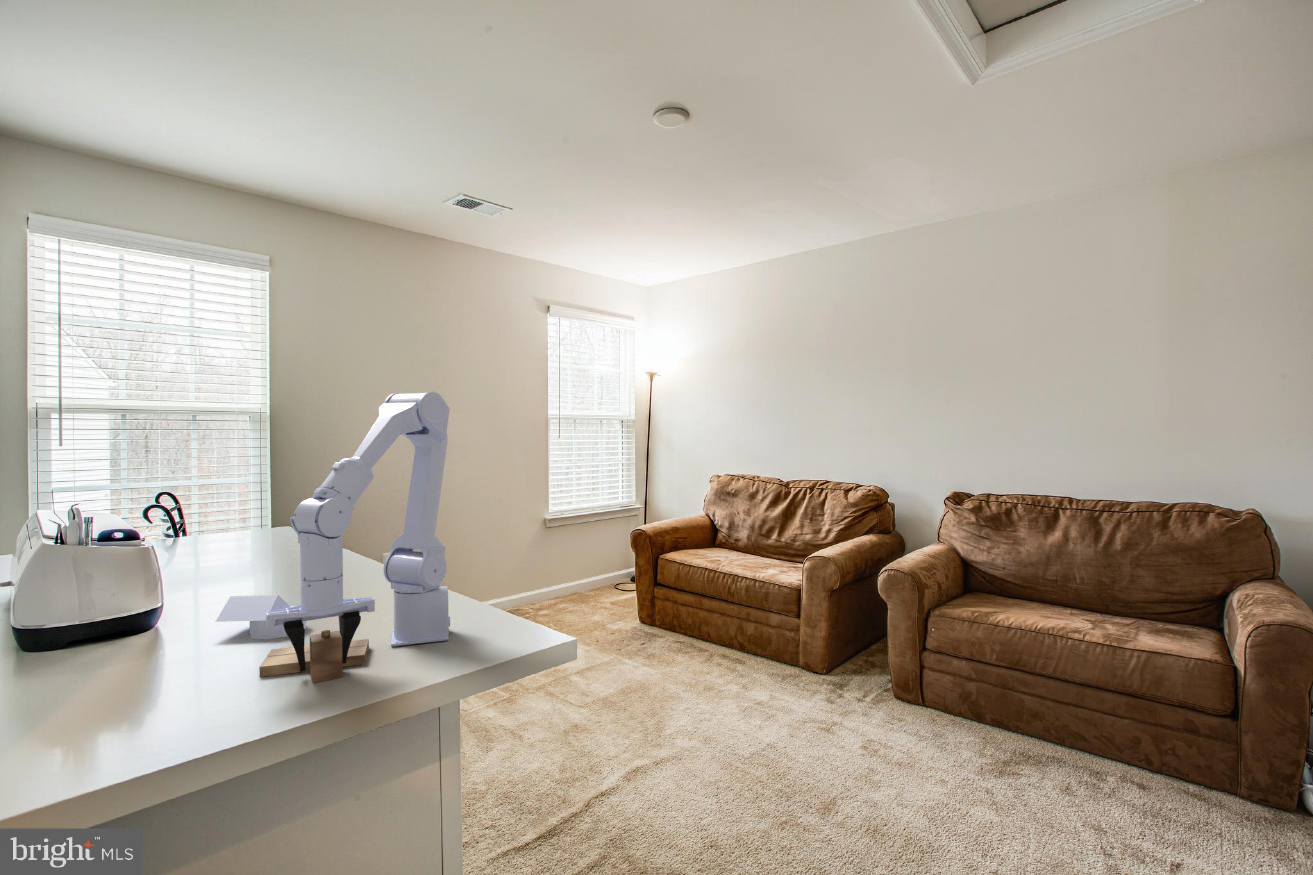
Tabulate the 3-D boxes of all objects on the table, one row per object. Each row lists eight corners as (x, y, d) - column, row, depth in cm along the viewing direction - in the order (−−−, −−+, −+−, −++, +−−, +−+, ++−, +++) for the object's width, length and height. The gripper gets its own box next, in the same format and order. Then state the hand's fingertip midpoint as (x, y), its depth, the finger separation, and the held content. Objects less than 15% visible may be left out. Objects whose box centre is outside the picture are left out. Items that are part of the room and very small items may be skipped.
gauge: (335, 658, 102) (334, 617, 102) (342, 677, 94) (342, 632, 94) (307, 663, 100) (306, 621, 100) (312, 683, 92) (311, 637, 92)
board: (368, 647, 107) (368, 638, 107) (364, 663, 100) (364, 654, 100) (271, 658, 102) (271, 649, 102) (259, 676, 94) (259, 666, 94)
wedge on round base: (215, 640, 111) (291, 638, 112) (215, 602, 111) (290, 601, 112) (245, 624, 120) (314, 622, 121) (244, 589, 120) (314, 588, 121)
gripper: (368, 566, 102) (368, 648, 103) (264, 578, 94) (265, 667, 94) (377, 574, 97) (377, 661, 97) (267, 587, 88) (268, 683, 89)
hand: (322, 665), depth 95 cm, fingers open, 5 cm apart
